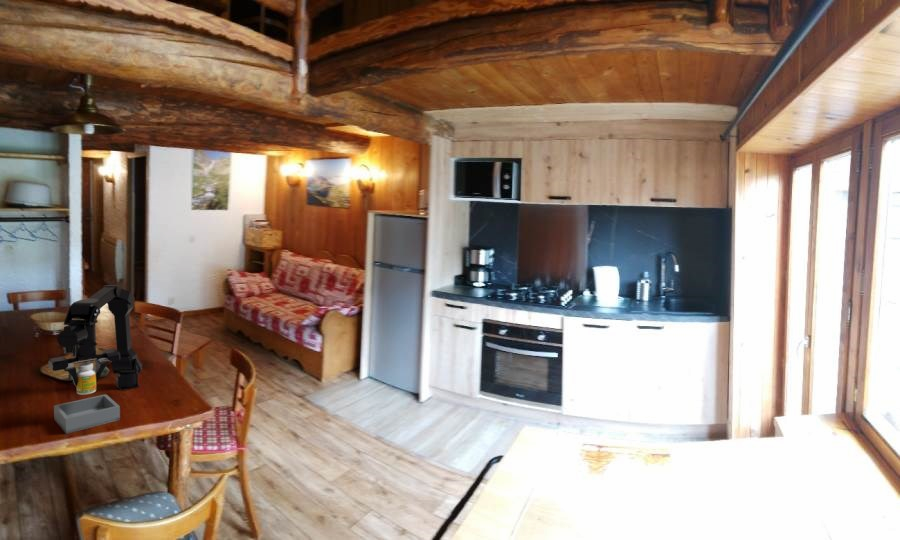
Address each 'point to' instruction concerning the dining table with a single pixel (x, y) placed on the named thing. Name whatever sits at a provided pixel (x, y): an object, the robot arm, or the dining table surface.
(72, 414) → the tote
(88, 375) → the supplement bottle
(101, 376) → the vegetable
